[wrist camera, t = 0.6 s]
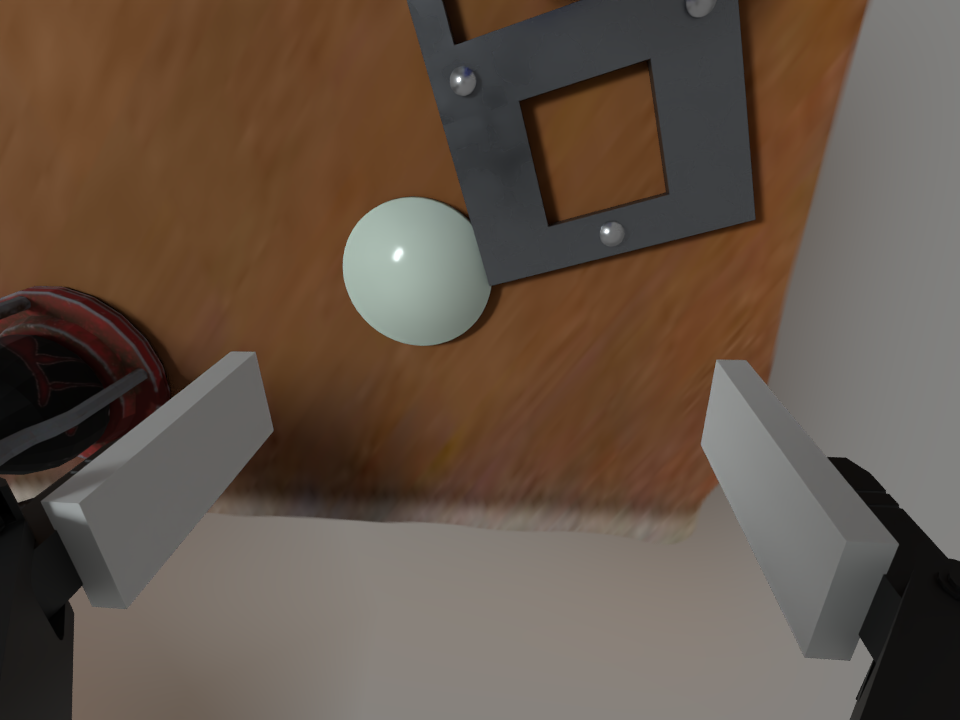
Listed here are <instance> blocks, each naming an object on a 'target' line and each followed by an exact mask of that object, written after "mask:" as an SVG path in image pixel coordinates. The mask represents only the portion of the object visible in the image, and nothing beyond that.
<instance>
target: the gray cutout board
mask: <svg viewBox="0 0 960 720" xmlns="http://www.w3.org/2000/svg"><path fill="white" fill-rule="evenodd" d="M407 3H408V6H409V9H410V13H411V16H412V20H413V23H414V27H415V30H416V34H417V37H418V41H419V44H420V48H421V51H422V54H423V58H424V61H425V65H426V68H427V72H428V75H429V79H430V82H431V86H432V89H433V93H434V96H435V100H436V103H437V106H438V110H439V113H440V117H441V120H442V124H443V127H444V131H445V134H446V138H447V141H448V145H449V148H450V151H451V155H452V158H453V162H454V165H455V169H456V172H457V176H458V179H459V183H460V186H461V190H462V193H463V196H464V200H465V203H466V207H467V210H468V214H469V217H470V221H471V224H472V228H473V231H474V235H475V238H476V241H477V245H478V248H479V252H480V255H481V259H482V262H483V266H484V269H485V273H486V276H487V280H488V283H489V286H492V285H496V284H500V283H504V282H508V281H512V280H516V279H520V278H524V277H528V276H532V275H536V274H540V273H544V272H548V271H552V270H556V269H560V268H564V267H568V266H572V265H576V264H580V263H584V262H588V261H592V260H596V259H600V258H604V257H608V256H612V255H616V254H620V253H624V252H628V251H632V250H636V249H640V248H644V247H648V246H652V245H656V244H660V243H664V242H668V241H672V240H676V239H680V238H684V237H688V236H692V235H696V234H700V233H704V232H708V231H712V230H716V229H720V228H724V227H728V226H732V225H736V224H740V223H744V222H748V221H752V220H755V208H754V195H753V182H752V169H751V157H750V144H749V131H748V119H747V106H746V93H745V81H744V68H743V55H742V43H741V30H740V17H739V5H738V0H581V1H578V2H575V3H572V4H570V5H567V6H564V7H561V8H558V9H555V10H553V11H550V12H547V13H544V14H541V15H539V16H536V17H533V18H530V19H527V20H524V21H522V22H519V23H516V24H513V25H510V26H508V27H505V28H502V29H499V30H496V31H494V32H491V33H488V34H485V35H482V36H479V37H477V38H474V39H471V40H468V41H465V42H463V43H460V44H457V45H456V44H455V40H454V37H453V33H452V29H451V25H450V22H449V18H448V14H447V10H446V7H445V3H444V0H407ZM646 60H647V61H648V68H649V75H650V82H651V89H652V96H653V103H654V110H655V117H656V124H657V131H658V138H659V145H660V152H661V159H662V166H663V173H664V181H665V188H666V193H663V194H659V195H655V196H651V197H648V198H644V199H640V200H637V201H633V202H629V203H625V204H622V205H618V206H614V207H611V208H607V209H603V210H599V211H596V212H592V213H588V214H585V215H581V216H577V217H574V218H570V219H566V220H562V221H559V222H555V223H551V224H548V223H547V218H546V214H545V210H544V205H543V201H542V197H541V193H540V188H539V184H538V180H537V175H536V171H535V167H534V162H533V158H532V154H531V150H530V145H529V141H528V137H527V132H526V128H525V124H524V119H523V115H522V111H521V106H520V102H519V101H522V100H525V99H528V98H531V97H534V96H537V95H541V94H544V93H547V92H550V91H553V90H556V89H559V88H562V87H565V86H568V85H571V84H575V83H578V82H581V81H584V80H587V79H590V78H593V77H596V76H599V75H602V74H606V73H609V72H612V71H615V70H618V69H621V68H624V67H627V66H630V65H633V64H636V63H640V62H643V61H646Z"/></svg>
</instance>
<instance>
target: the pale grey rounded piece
mask: <svg viewBox="0 0 960 720" xmlns="http://www.w3.org/2000/svg"><path fill="white" fill-rule="evenodd" d="M343 276H344V281H345V285H346V288H347V291H348V294H349V296H350V299H351V301H352V303H353V304H354V306H355V308H356V309H357V311H358V312H359V313H360V315H361V316H362V317H363V318H364V319H365V320H366V321H367V322H368V323H369V324H370V325H371V326H372V327H373V328H375V329H376V330H377V331H379V332H380V333H382V334H384V335H385V336H387V337H389V338H391V339H393V340H396V341H399V342H402V343H406V344H411V345H421V346H423V345H435V344H440V343H444V342H447V341H450V340H452V339H454V338H456V337H458V336H460V335H461V334H463V333H464V332H465V331H467V330H468V329H469V328H470V327H471V326H472V325H473V324H474V323H475V322H476V321H477V320H478V318H479V317H480V315H481V314H482V312H483V310H484V308H485V306H486V304H487V301H488V298H489V295H490V291H491V286H489V283H488V280H487V276H486V273H485V269H484V266H483V262H482V259H481V255H480V252H479V248H478V245H477V241H476V238H475V235H474V231H473V228H472V224H471V221H470V220H469V219H468V218H467V217H466V216H464V215H463V214H462V213H461V212H459V211H458V210H456V209H455V208H453V207H452V206H450V205H448V204H446V203H444V202H441V201H438V200H435V199H431V198H426V197H416V196H411V197H402V198H397V199H393V200H390V201H388V202H385V203H383V204H381V205H379V206H378V207H376V208H374V209H372V210H371V211H370V212H369V213H367V214H366V215H365V216H364V217H363V218H362V219H361V220H360V221H359V222H358V223H357V225H356V226H355V227H354V229H353V230H352V232H351V234H350V236H349V238H348V241H347V244H346V247H345V251H344V256H343Z"/></svg>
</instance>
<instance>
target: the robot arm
mask: <svg viewBox="0 0 960 720" xmlns="http://www.w3.org/2000/svg"><path fill="white" fill-rule="evenodd" d="M273 431H274V429H273V425H272V421H271V416H270V412H269V408H268V404H267V399H266V395H265V391H264V386H263V382H262V378H261V374H260V369H259V365H258V361H257V356H256V352H230V353H229V354H227V355H226V356H225V357H223V358H222V359H221V360H220V361H218V362H217V363H216V364H215V365H213V366H212V367H211V368H210V369H208V370H207V371H206V372H204V373H203V374H202V375H201V376H199V377H198V378H197V379H196V380H194V381H193V382H192V383H190V384H189V385H188V386H187V387H185V388H184V389H183V390H182V391H180V392H179V393H178V394H176V395H175V396H174V397H173V398H171V399H170V400H169V401H168V402H166V403H165V404H164V405H163V406H161V407H160V408H159V409H157V410H156V411H155V412H154V413H152V414H151V415H150V416H149V417H147V418H146V419H145V420H143V421H142V422H141V423H140V424H138V425H137V426H136V427H135V428H133V429H132V430H131V431H129V432H128V433H127V434H126V435H124V436H122V437H120V438H118V439H116V440H114V441H112V442H110V443H108V444H106V445H104V446H102V447H101V448H100V449H98V450H97V451H96V452H95V453H93V454H92V455H91V456H89V457H88V458H87V459H86V460H85V463H80V464H79V465H78V466H76V467H75V468H74V469H73V470H71V473H70V474H66V475H65V476H64V477H62V478H61V479H60V480H58V481H57V482H56V483H54V484H53V485H52V486H51V487H49V488H48V489H47V490H45V491H44V492H43V493H41V494H40V495H39V496H38V497H36V498H35V499H34V500H32V501H31V502H30V503H29V504H27V505H26V506H25V507H23V508H22V509H21V508H20V506H19V504H18V502H17V501H16V499H15V497H14V495H13V493H12V491H11V489H10V487H9V485H8V483H7V481H6V479H3V478H1V477H0V720H72V682H73V639H74V612H73V609H72V607H71V605H70V603H69V601H68V600H69V599H70V598H71V597H72V596H73V595H74V594H75V593H76V592H77V591H78V589H79V588H80V587H81V586H83V588H84V590H85V592H86V594H87V596H88V599H89V600H90V603H91V605H92V606H93V607H106V608H119V609H127V608H128V607H129V606H130V605H131V603H132V602H133V601H134V600H135V598H136V597H137V596H138V595H139V594H140V592H141V591H142V590H143V589H144V588H145V586H146V585H147V584H148V582H150V580H151V579H152V578H153V577H154V575H155V574H156V573H157V572H158V571H159V569H160V568H161V567H162V566H163V564H164V563H165V562H166V561H167V560H168V558H169V557H170V556H171V555H172V553H173V552H174V551H175V550H176V549H177V548H178V546H179V545H180V544H181V543H182V541H183V540H184V539H185V538H186V537H187V535H188V534H189V533H190V532H191V531H192V529H193V528H194V527H195V525H196V524H197V523H198V522H199V521H200V520H201V518H202V517H203V516H204V515H205V514H206V512H207V511H208V510H209V509H210V507H211V506H212V505H213V504H214V503H215V501H216V500H217V499H218V498H219V497H220V495H221V494H222V493H223V492H224V490H225V489H226V488H227V487H228V486H229V484H230V483H231V482H232V481H233V480H234V478H235V477H236V476H237V475H238V473H239V472H240V471H241V470H242V469H243V467H244V466H245V465H246V464H247V463H248V461H249V460H250V459H251V458H252V456H253V455H254V454H255V453H256V452H257V450H258V449H259V448H260V447H261V446H262V444H263V443H264V442H265V441H266V440H267V438H268V437H269V436H270V435H271V433H272V432H273ZM701 446H702V448H703V450H704V452H705V454H706V456H707V458H708V460H709V462H710V464H711V466H712V469H713V471H714V473H715V475H716V477H717V479H718V481H719V483H720V485H721V487H722V489H723V491H724V493H725V495H726V497H727V499H728V501H729V503H730V505H731V507H732V509H733V512H734V514H735V516H736V518H737V520H738V522H739V524H740V526H741V528H742V530H743V532H744V534H745V536H746V538H747V540H748V542H749V544H750V547H751V549H752V551H753V553H754V555H755V557H756V559H757V561H758V563H759V565H760V567H761V569H762V571H763V573H764V575H765V577H766V579H767V581H768V584H769V585H770V588H771V590H772V592H773V594H774V596H775V598H776V600H777V602H778V604H779V606H780V608H781V610H782V612H783V614H784V616H785V618H786V620H787V623H788V625H789V626H790V628H791V631H792V633H793V635H794V637H795V639H796V641H797V643H798V645H799V647H800V649H801V651H802V653H803V655H804V657H805V658H820V659H833V660H848V661H850V660H851V657H852V655H853V653H854V650H855V648H856V645H857V643H858V640H859V638H861V639H862V641H863V643H864V645H865V646H866V647H867V649H868V651H869V653H870V654H871V656H872V657H873V661H872V664H871V666H870V668H869V670H868V673H867V675H866V677H865V679H864V682H863V684H862V686H861V688H860V691H859V693H858V695H857V697H856V700H857V702H856V705H855V707H854V710H853V713H852V715H851V718H850V720H960V561H957V560H954V559H948V558H947V557H946V556H945V555H944V554H943V552H942V551H941V550H940V549H939V548H938V547H937V546H936V545H935V544H934V543H933V542H932V540H931V539H930V538H929V537H928V536H927V535H926V534H925V533H924V532H923V530H922V529H920V527H919V526H918V525H917V524H916V523H915V522H914V521H913V520H912V519H911V517H910V516H909V515H908V514H907V513H906V512H905V511H904V510H903V509H901V508H899V504H898V503H897V502H896V501H895V500H894V499H893V498H892V497H891V496H890V494H886V490H885V489H884V488H883V487H882V486H881V485H880V483H879V482H878V481H877V480H876V479H875V478H874V477H873V476H872V475H871V474H870V473H869V472H868V471H866V470H864V469H863V468H861V467H859V466H858V465H857V464H855V463H853V462H852V461H850V460H849V459H847V458H840V457H839V458H837V457H826V456H825V454H824V453H823V452H822V451H821V450H820V448H819V447H818V446H817V445H816V444H815V443H814V441H813V440H812V439H811V438H810V437H809V435H808V434H807V433H806V432H805V431H804V429H803V428H802V427H801V426H800V424H799V423H798V422H797V421H796V420H795V418H794V417H793V416H792V415H791V414H790V412H789V411H788V410H787V409H786V408H785V406H784V405H783V404H782V403H781V402H780V400H779V399H778V398H777V397H776V396H775V394H774V393H773V392H772V391H771V390H770V388H769V387H768V386H767V385H766V384H765V382H764V381H763V380H762V379H761V378H760V376H759V375H758V374H757V373H756V372H755V370H754V369H753V368H752V367H751V366H750V364H749V363H748V362H747V361H746V360H716V365H715V371H714V376H713V381H712V387H711V392H710V398H709V403H708V409H707V414H706V419H705V425H704V430H703V436H702V441H701Z"/></svg>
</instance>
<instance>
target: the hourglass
mask: <svg viewBox="0 0 960 720" xmlns="http://www.w3.org/2000/svg"><path fill="white" fill-rule="evenodd" d="M169 400H170V389H169V386H168V382H167V379H166V375H165V372H164V368H163V365H162V363H161V362H160V360H159V359H158V357H157V355H156V354H155V352H154V350H153V349H152V347H151V346H150V344H149V342H148V341H147V339H146V338H145V337H144V336H143V335H142V334H141V333H140V332H139V331H138V330H137V329H136V328H135V327H134V326H133V325H132V324H131V323H130V322H129V321H128V320H127V319H126V318H125V317H124V316H123V315H122V314H120V313H118V312H117V311H115V310H114V309H112V308H110V307H109V306H107V305H106V304H104V303H103V302H101V301H99V300H98V299H96V298H95V297H92V296H89V295H86V294H83V293H80V292H77V291H74V290H71V289H68V288H65V287H48V286H34V287H31V288H28V289H25V290H22V291H19V292H16V293H13V294H11V295H8V296H5V297H2V298H0V474H15V475H24V474H29V473H34V472H38V471H43V470H47V469H51V468H55V467H59V466H60V465H62V464H64V463H66V462H68V461H70V460H72V459H73V458H75V457H77V456H78V457H81V458H85V460H86V459H87V458H88V457H89V456H91V455H92V454H93V453H95V452H96V451H97V450H98V449H100V448H101V447H102V446H104V445H106V444H108V443H110V442H112V441H114V440H116V439H118V438H120V437H122V436H124V435H126V434H127V433H128V432H129V431H131V430H132V429H133V428H135V427H136V426H137V425H138V424H140V423H141V422H142V421H143V420H145V419H146V418H147V417H149V416H150V415H151V414H152V413H154V412H155V411H156V410H157V409H159V408H160V407H161V406H163V405H164V404H165V403H166V402H168V401H169ZM85 460H84V461H83V462H81V463H85ZM77 466H78V465H77ZM73 469H74V468H73ZM73 469H72V470H73ZM70 473H71V471H69V472H68V473H67V474H70ZM65 475H66V474H65ZM65 475H64V476H65ZM64 476H63V477H64ZM61 478H62V477H61ZM61 478H60V479H61ZM60 479H59V480H60ZM57 481H58V480H57ZM57 481H56V482H57ZM56 482H55V483H56ZM53 484H54V483H53ZM53 484H52V485H53ZM52 485H51V486H52ZM51 486H49V487H51ZM49 487H48V488H49ZM48 488H47V489H48ZM47 489H45V490H47ZM45 490H44V491H45ZM44 491H43V492H44ZM43 492H41V493H43ZM41 493H40V494H41ZM40 494H39V495H40ZM39 495H37V496H36V497H38V496H39ZM36 497H35V498H36ZM35 498H32V499H29V500H25V501H22V502H19V503H18V504H19V506H20V508H21V509H22V508H23V507H25V506H26V505H27V504H29V503H30V502H31V501H32V500H34V499H35Z"/></svg>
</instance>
